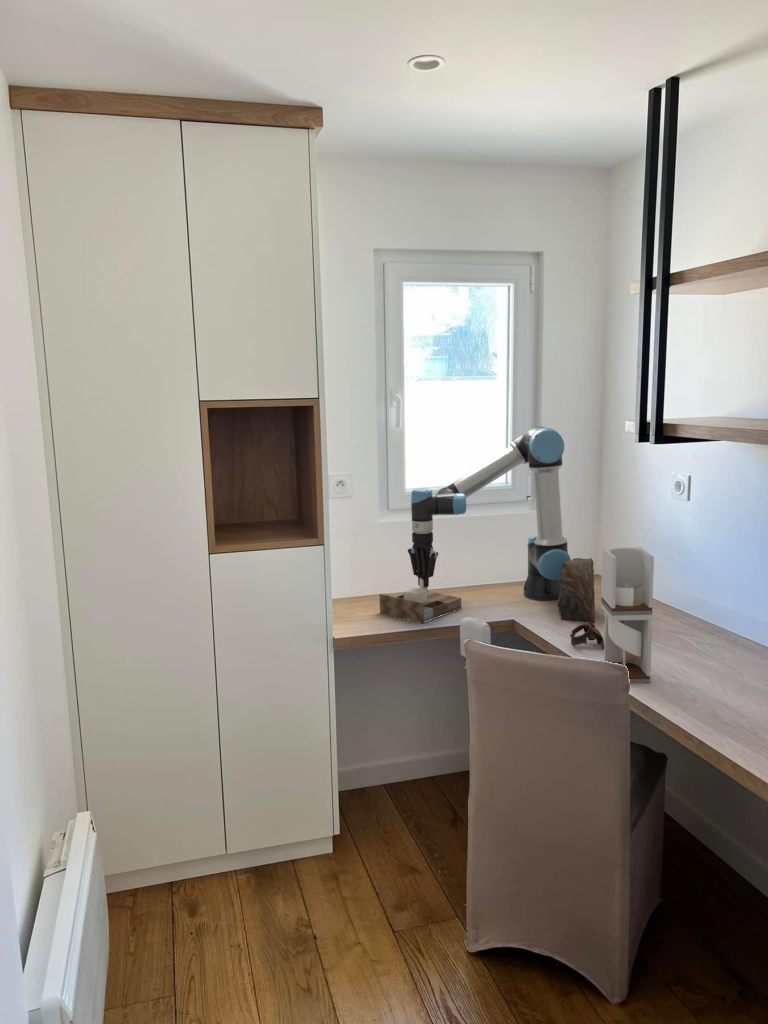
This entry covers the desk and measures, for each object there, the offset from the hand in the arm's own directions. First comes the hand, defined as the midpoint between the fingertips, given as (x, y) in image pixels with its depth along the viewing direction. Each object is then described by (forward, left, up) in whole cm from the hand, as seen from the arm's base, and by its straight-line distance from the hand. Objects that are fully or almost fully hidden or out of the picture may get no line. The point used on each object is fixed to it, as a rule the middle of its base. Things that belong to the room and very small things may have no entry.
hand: (423, 595), depth 276 cm
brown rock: (-49, -25, -6) cm, 55 cm away
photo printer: (-44, +28, -6) cm, 53 cm away
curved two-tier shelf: (-84, +13, -6) cm, 85 cm away
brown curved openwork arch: (-65, -2, -6) cm, 65 cm away
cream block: (0, +4, -1) cm, 5 cm away
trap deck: (0, +2, -5) cm, 6 cm away
